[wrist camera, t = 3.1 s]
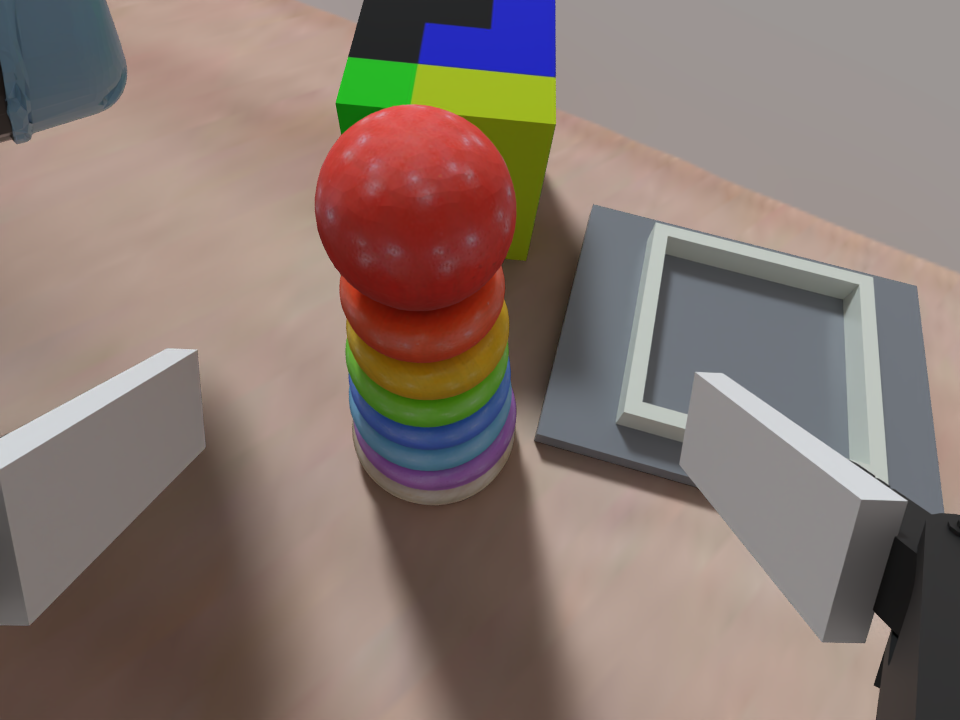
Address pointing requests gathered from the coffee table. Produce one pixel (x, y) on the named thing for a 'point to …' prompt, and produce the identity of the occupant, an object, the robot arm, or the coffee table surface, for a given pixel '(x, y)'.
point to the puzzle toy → (464, 78)
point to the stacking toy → (423, 298)
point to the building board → (736, 351)
